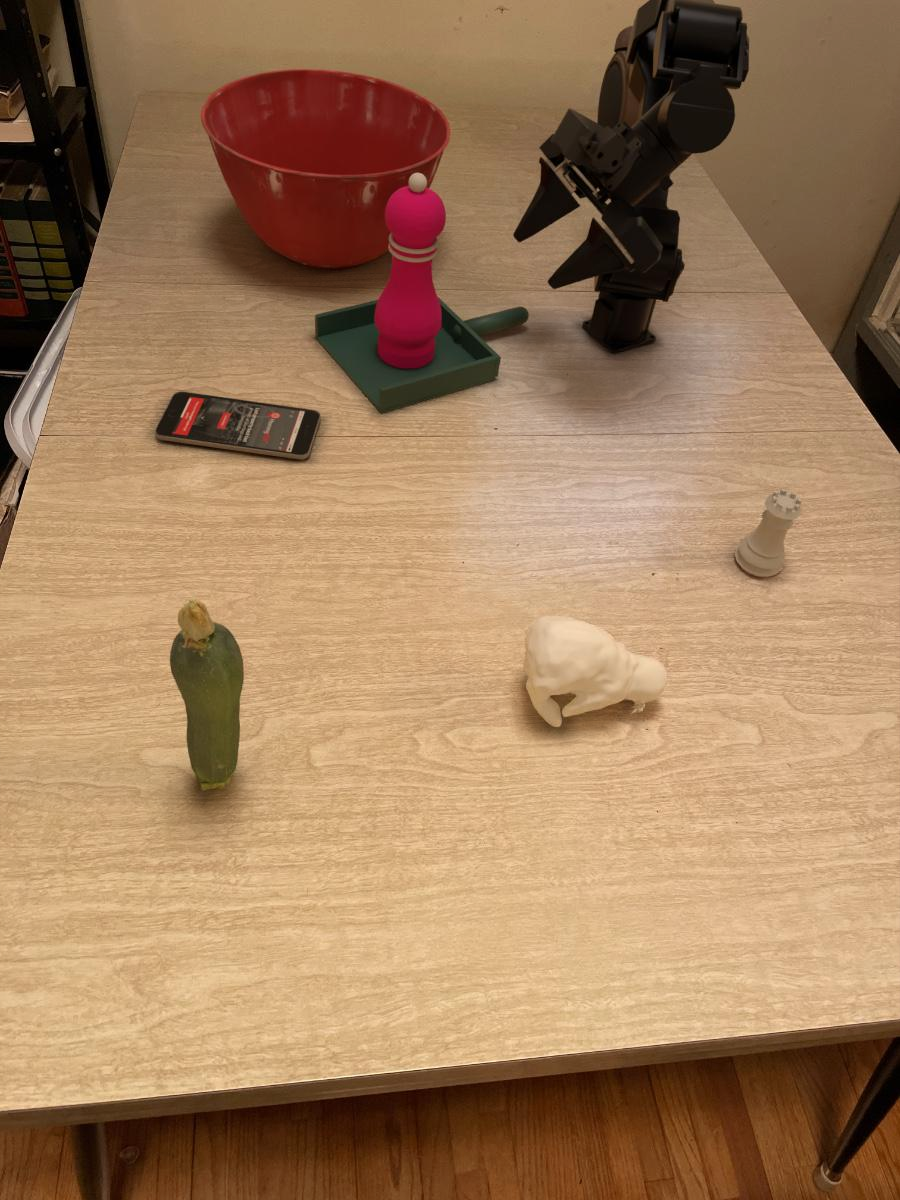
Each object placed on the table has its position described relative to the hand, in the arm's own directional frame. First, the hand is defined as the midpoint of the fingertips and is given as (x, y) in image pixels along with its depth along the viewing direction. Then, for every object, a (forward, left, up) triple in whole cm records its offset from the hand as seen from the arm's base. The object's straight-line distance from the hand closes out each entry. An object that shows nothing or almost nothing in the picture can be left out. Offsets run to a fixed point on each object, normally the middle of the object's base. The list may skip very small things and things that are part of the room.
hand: (532, 261), depth 96 cm
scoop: (+5, -8, -14) cm, 16 cm away
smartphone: (+31, -4, -14) cm, 34 cm away
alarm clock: (-46, -40, -14) cm, 63 cm away
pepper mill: (+9, -8, -13) cm, 18 cm away
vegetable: (+48, +32, -14) cm, 59 cm away
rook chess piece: (-4, +34, -14) cm, 37 cm away
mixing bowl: (+6, -34, -14) cm, 37 cm away
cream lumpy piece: (+20, +39, -14) cm, 46 cm away
